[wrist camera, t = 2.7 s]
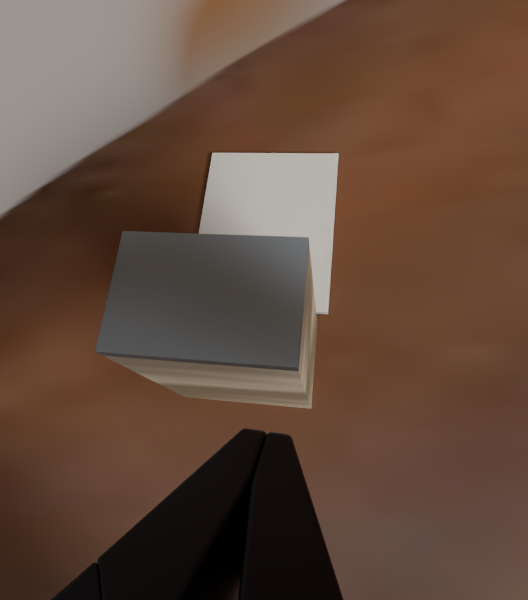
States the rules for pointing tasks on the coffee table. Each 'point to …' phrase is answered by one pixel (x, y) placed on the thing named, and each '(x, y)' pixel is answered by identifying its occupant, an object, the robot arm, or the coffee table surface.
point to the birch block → (214, 315)
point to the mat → (276, 203)
